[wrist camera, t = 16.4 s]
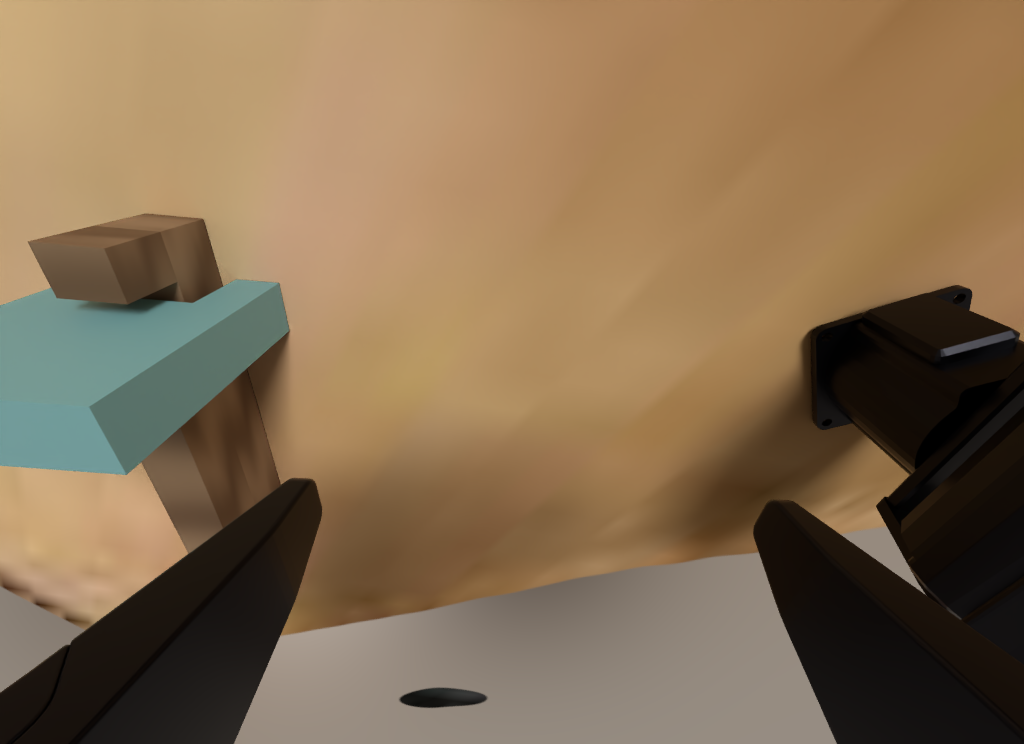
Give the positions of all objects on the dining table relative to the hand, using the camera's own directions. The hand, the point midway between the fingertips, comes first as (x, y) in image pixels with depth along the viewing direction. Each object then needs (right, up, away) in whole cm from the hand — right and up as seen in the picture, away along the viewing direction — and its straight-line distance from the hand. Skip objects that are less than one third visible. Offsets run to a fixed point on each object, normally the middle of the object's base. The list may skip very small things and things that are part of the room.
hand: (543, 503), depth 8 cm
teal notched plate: (-16, +6, +12) cm, 21 cm away
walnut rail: (-16, +1, +15) cm, 22 cm away
